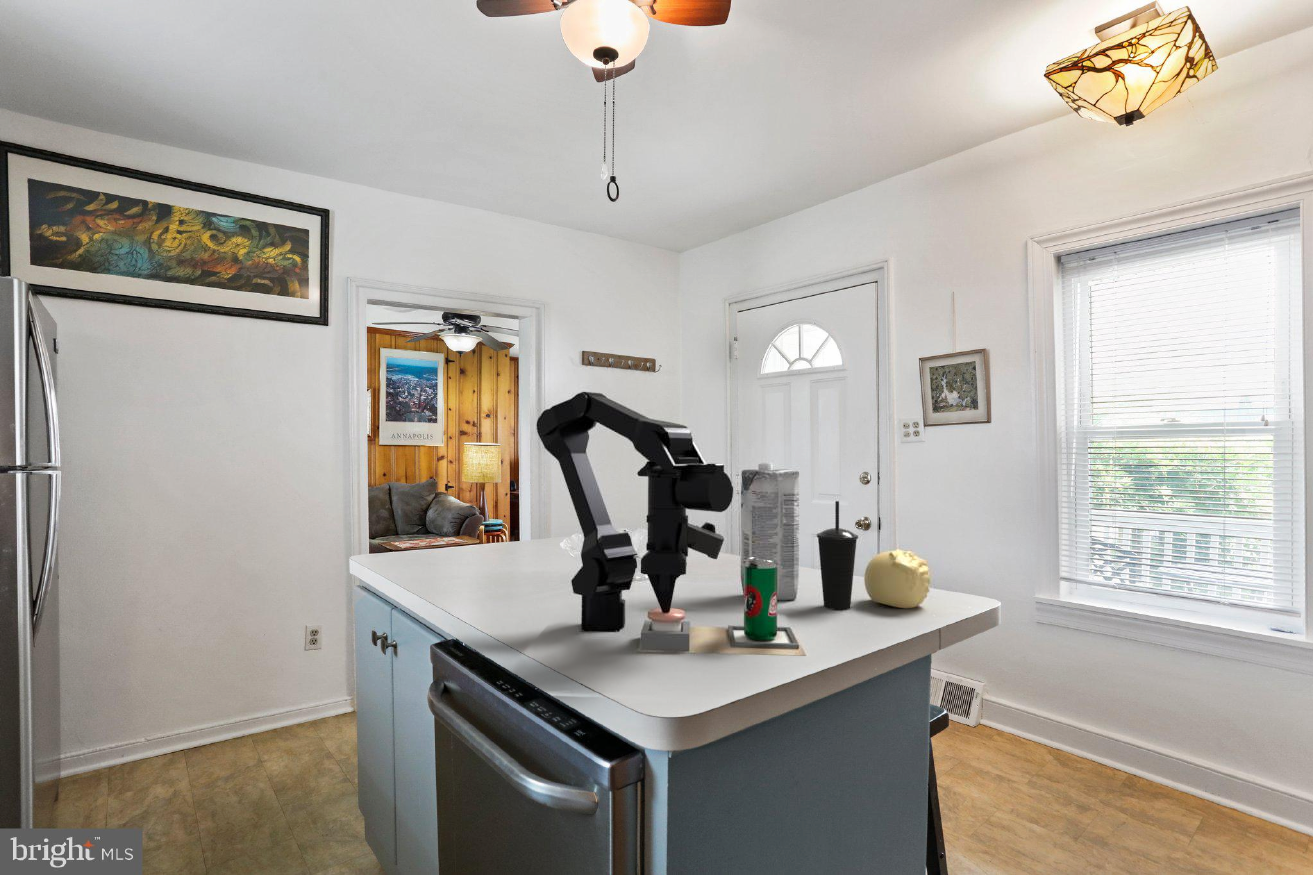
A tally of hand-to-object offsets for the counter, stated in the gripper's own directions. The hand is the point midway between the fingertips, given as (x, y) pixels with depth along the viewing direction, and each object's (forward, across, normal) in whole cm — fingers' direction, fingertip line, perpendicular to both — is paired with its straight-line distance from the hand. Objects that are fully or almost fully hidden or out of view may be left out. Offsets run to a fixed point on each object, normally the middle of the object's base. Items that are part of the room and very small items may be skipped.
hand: (666, 612), depth 100 cm
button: (+4, 0, 0) cm, 4 cm away
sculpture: (+6, +32, -43) cm, 54 cm away
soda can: (+5, +4, -14) cm, 16 cm away
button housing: (+5, 0, 0) cm, 5 cm away
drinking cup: (+6, +29, -31) cm, 43 cm away
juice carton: (+6, +36, -19) cm, 41 cm away
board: (+5, +3, -8) cm, 10 cm away
